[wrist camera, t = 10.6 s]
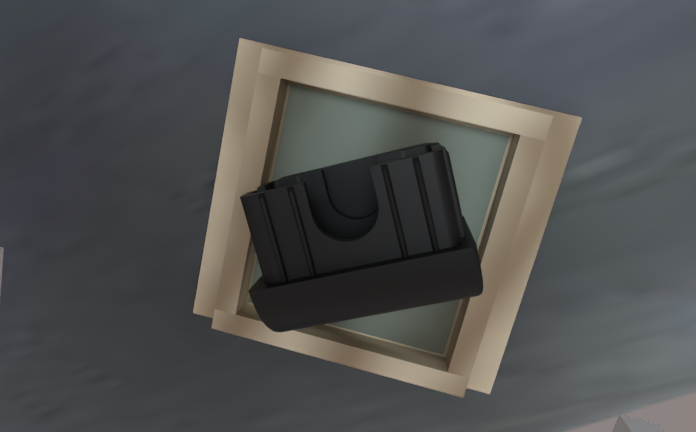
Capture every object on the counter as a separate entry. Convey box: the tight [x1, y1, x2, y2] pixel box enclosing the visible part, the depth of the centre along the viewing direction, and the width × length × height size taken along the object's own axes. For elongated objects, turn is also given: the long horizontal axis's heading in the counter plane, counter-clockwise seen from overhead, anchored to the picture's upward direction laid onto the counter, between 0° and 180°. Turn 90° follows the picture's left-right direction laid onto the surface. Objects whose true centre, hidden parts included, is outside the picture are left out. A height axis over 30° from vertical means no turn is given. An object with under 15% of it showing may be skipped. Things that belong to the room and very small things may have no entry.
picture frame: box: [193, 38, 582, 398], centre depth 28 cm, size 18×16×2 cm
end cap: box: [240, 142, 483, 332], centre depth 25 cm, size 10×7×7 cm
